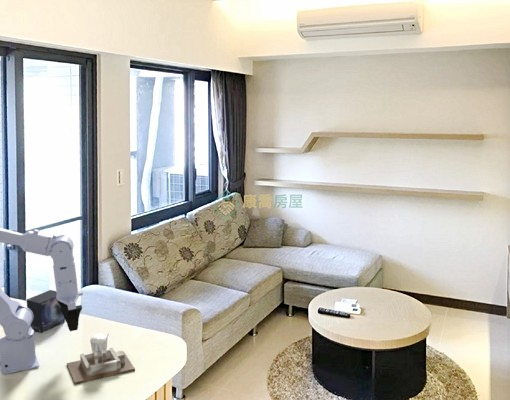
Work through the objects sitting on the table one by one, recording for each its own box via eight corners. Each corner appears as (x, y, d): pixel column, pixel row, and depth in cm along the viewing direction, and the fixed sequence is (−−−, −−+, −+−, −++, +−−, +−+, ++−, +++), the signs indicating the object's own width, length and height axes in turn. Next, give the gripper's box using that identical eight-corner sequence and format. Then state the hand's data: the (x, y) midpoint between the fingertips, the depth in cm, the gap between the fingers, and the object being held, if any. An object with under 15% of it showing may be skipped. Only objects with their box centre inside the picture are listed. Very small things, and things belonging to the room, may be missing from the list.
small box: (42, 334, 174) (39, 302, 172) (27, 330, 177) (24, 299, 175) (66, 322, 184) (64, 292, 182) (51, 318, 186) (49, 289, 184)
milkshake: (105, 371, 149) (104, 337, 147) (88, 368, 151) (86, 334, 149) (114, 363, 154) (112, 330, 152) (97, 361, 155) (95, 327, 153)
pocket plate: (75, 384, 144) (74, 373, 143) (66, 365, 154) (66, 354, 153) (134, 370, 151) (134, 360, 150) (123, 353, 161) (122, 343, 161)
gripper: (85, 284, 148) (90, 331, 151) (76, 270, 161) (81, 313, 163) (57, 289, 145) (63, 337, 148) (51, 274, 158) (56, 318, 160)
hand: (71, 325), depth 155 cm, fingers open, 7 cm apart
